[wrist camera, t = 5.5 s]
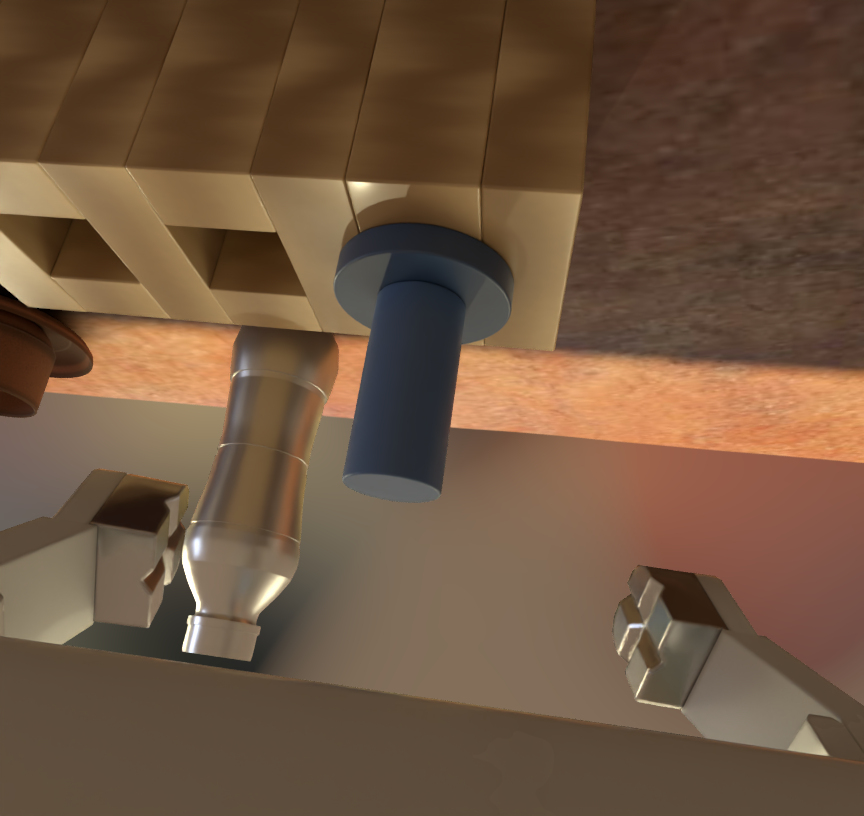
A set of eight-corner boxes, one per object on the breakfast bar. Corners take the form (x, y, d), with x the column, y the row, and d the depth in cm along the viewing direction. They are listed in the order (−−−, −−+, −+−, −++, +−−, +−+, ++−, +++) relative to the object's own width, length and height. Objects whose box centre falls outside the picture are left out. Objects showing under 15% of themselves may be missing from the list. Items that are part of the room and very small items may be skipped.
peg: (535, 67, 21) (490, 470, 17) (526, 189, 26) (491, 523, 22) (357, 61, 22) (265, 446, 17) (382, 181, 27) (317, 503, 22)
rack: (598, -27, 20) (583, 192, 17) (568, 178, 28) (554, 352, 26) (-52, -38, 23) (-160, 150, 20) (90, 153, 31) (27, 307, 28)
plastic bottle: (318, 293, 40) (235, 659, 33) (361, 348, 46) (299, 668, 38) (222, 296, 42) (123, 642, 35) (275, 349, 48) (201, 653, 40)
